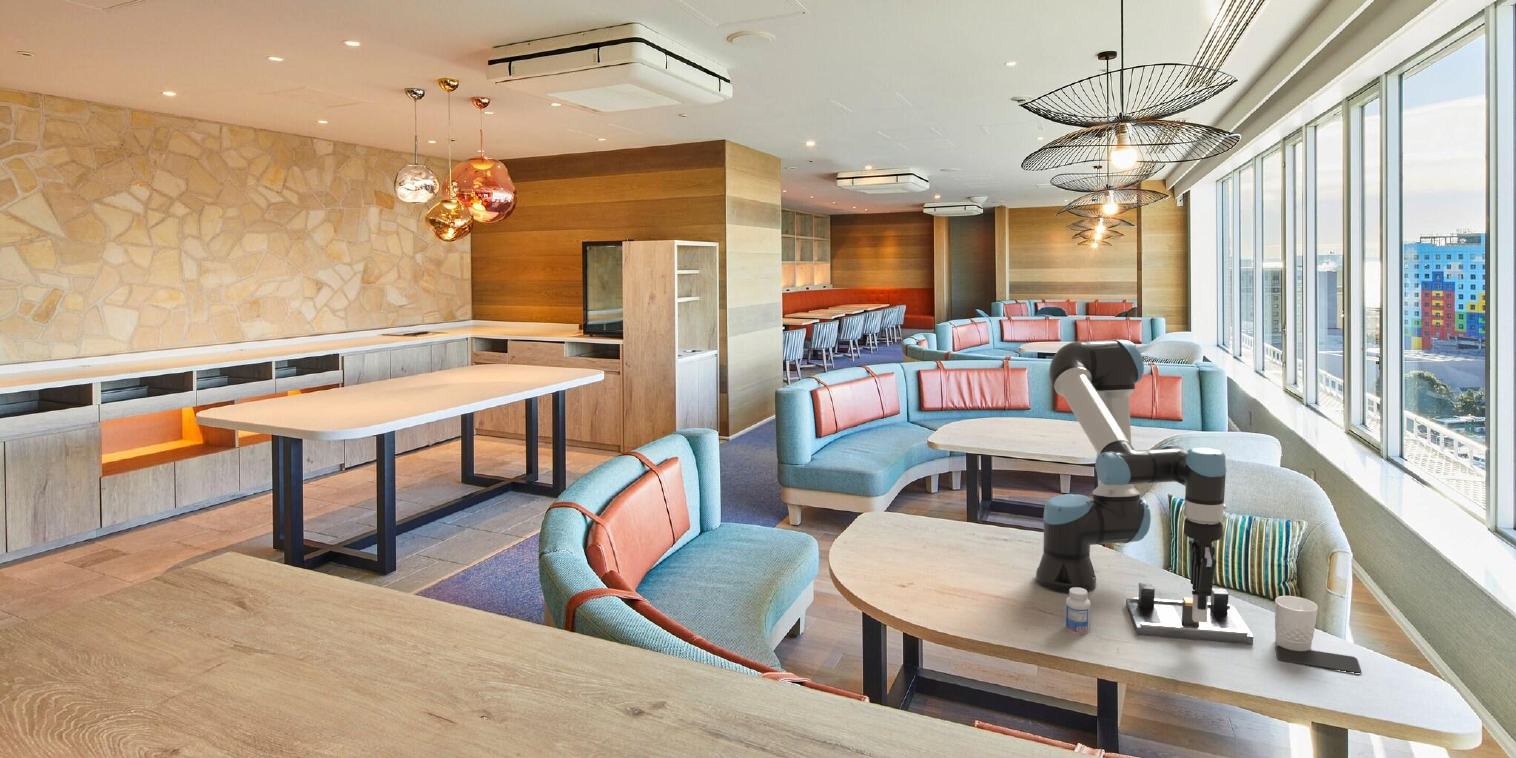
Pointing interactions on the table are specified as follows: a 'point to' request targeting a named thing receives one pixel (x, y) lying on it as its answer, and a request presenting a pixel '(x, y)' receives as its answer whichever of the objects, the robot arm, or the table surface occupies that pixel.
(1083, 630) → the pill bottle
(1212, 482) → the robot arm
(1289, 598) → the white cup
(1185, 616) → the breaker
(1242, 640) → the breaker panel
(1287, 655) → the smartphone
